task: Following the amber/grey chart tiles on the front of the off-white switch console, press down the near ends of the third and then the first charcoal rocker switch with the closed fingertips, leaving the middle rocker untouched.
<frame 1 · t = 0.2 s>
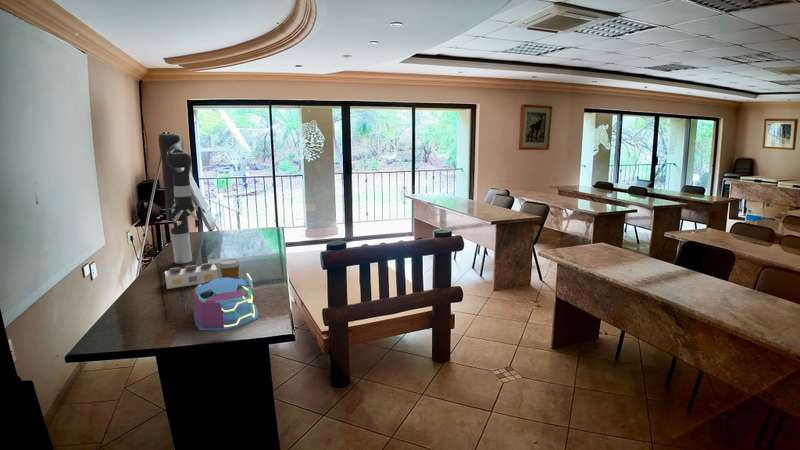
hand: (186, 228, 210), 28 cm above the table, tool pointing down, fingers open, 8 cm apart
console: (192, 281, 218), on the table
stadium: (226, 313, 180), on the table
rocker 2: (190, 267, 217), point 8 cm above the table, hinge at -12.0°
rocker 3: (206, 264, 220), point 8 cm above the table, hinge at -12.0°
rocker 1: (175, 269, 213), point 8 cm above the table, hinge at -12.0°
disposable coffee cup: (231, 285, 214), on the table
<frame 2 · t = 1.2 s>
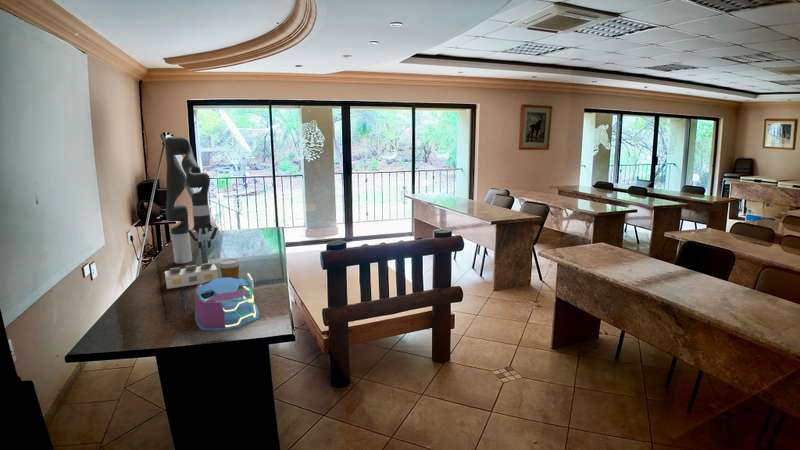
hand: (204, 248, 216), 17 cm above the table, tool pointing down, fingers open, 3 cm apart
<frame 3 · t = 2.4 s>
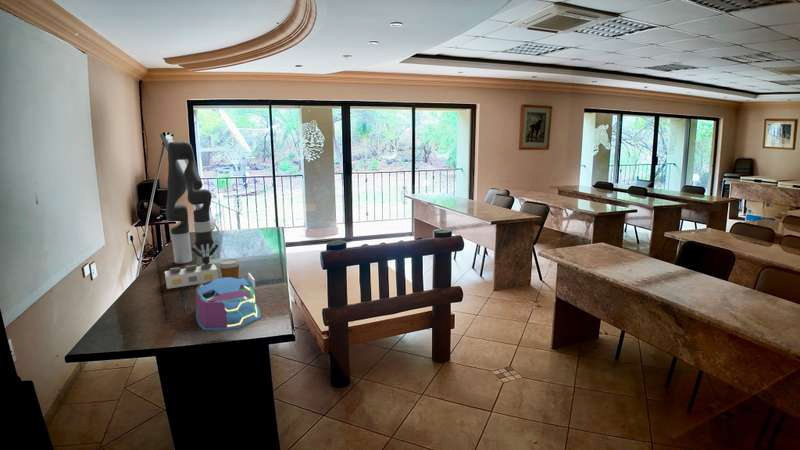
hand: (206, 263, 218), 9 cm above the table, tool pointing down, fingers closed
rocker 3: (206, 264, 220), point 8 cm above the table, hinge at -12.0°, touching gripper
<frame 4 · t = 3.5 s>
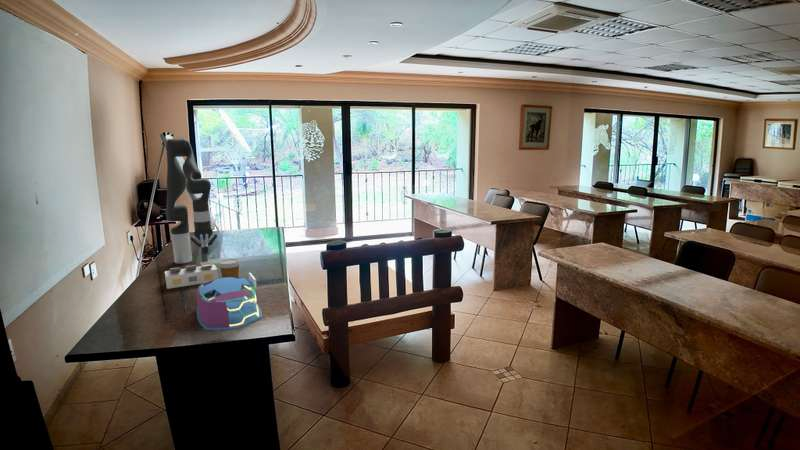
hand: (205, 253, 217), 14 cm above the table, tool pointing down, fingers closed
rocker 3: (206, 264, 220), point 8 cm above the table, hinge at 3.1°
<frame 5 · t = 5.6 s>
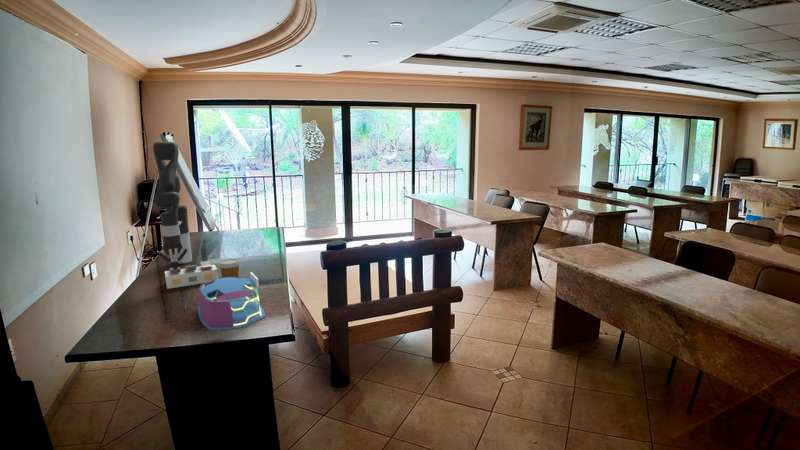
hand: (175, 269, 211), 9 cm above the table, tool pointing down, fingers closed
rocker 3: (206, 265, 220), point 8 cm above the table, hinge at 8.3°
rocker 1: (175, 269, 213), point 8 cm above the table, hinge at -9.3°, touching gripper
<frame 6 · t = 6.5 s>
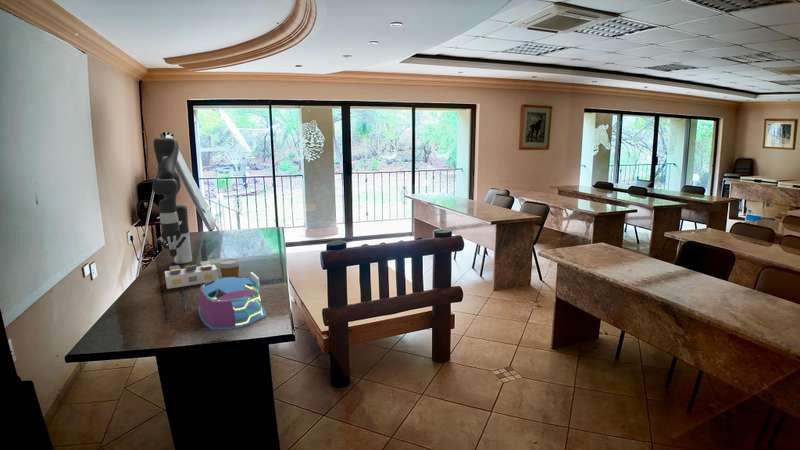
hand: (173, 256, 210), 15 cm above the table, tool pointing down, fingers closed
rocker 1: (175, 269, 213), point 8 cm above the table, hinge at 3.4°
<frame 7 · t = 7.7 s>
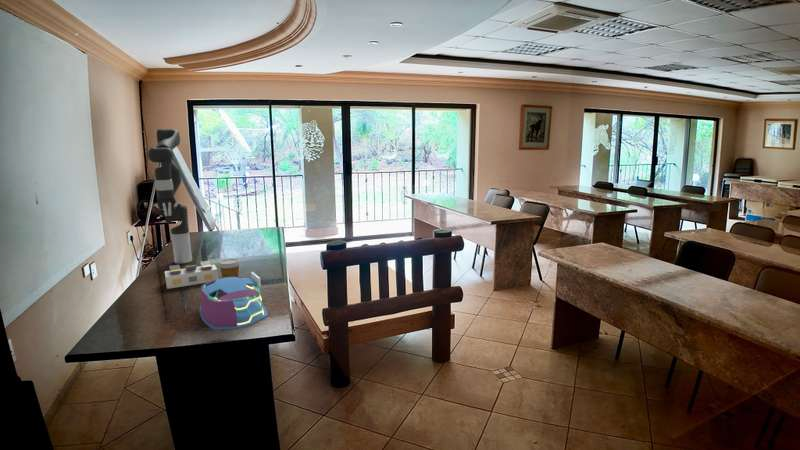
hand: (168, 222, 219), 29 cm above the table, tool pointing down, fingers closed
rocker 1: (175, 269, 213), point 8 cm above the table, hinge at 7.7°
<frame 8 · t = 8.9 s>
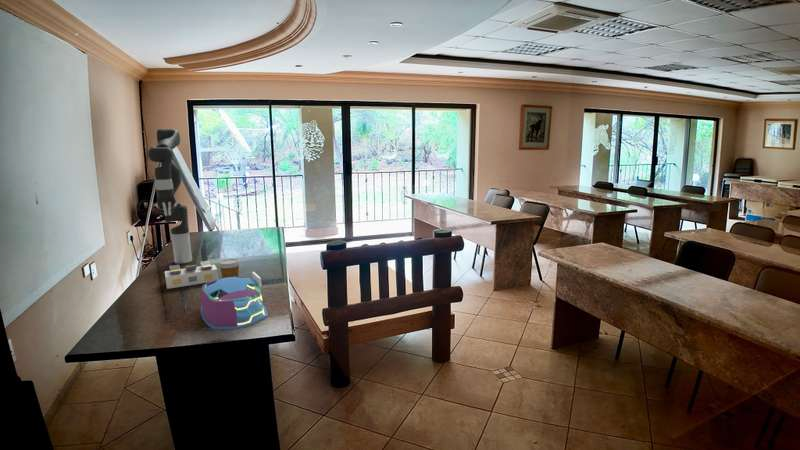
hand: (168, 222, 219), 29 cm above the table, tool pointing down, fingers closed
rocker 1: (175, 269, 213), point 8 cm above the table, hinge at 8.5°
at the end: rocker 3 at +9° (first picture: -12°); rocker 1 at +8° (first picture: -12°); rocker 2 at -12° (first picture: -12°) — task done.
